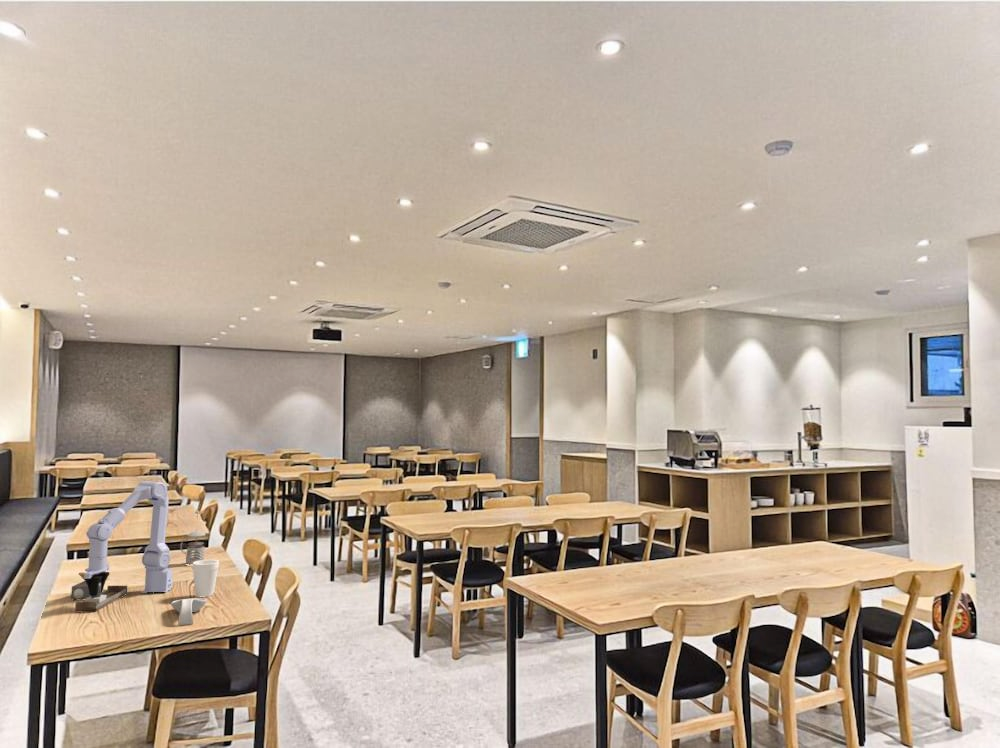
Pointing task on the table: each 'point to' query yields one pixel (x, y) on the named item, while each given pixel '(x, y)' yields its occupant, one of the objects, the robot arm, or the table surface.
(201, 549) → the french press
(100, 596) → the carriage
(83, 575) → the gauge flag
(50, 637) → the table surface
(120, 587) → the rail
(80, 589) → the box
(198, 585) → the foam cup
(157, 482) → the robot arm
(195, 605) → the spoon rest
